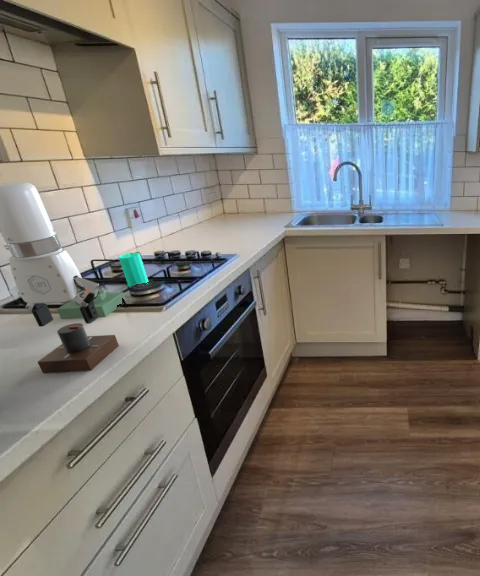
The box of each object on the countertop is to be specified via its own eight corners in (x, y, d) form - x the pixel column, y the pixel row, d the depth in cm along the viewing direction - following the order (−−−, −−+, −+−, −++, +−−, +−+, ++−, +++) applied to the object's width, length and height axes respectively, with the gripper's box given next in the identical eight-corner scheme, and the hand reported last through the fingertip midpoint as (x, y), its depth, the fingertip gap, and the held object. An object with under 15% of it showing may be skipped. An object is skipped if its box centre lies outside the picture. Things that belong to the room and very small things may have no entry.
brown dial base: (42, 373, 78) (36, 361, 76) (76, 347, 87) (71, 336, 85) (91, 370, 78) (85, 358, 77) (119, 345, 87) (114, 334, 86)
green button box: (61, 319, 101) (54, 303, 99) (85, 303, 110) (80, 288, 108) (105, 316, 101) (99, 300, 99) (126, 301, 110) (121, 286, 108)
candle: (152, 282, 124) (141, 249, 119) (133, 289, 119) (121, 254, 114) (143, 279, 127) (133, 246, 122) (125, 285, 122) (113, 251, 117)
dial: (60, 353, 79) (51, 332, 77) (75, 342, 83) (66, 322, 81) (81, 352, 79) (72, 331, 77) (94, 341, 83) (86, 321, 81)
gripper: (-29, 255, 68) (13, 333, 75) (66, 250, 69) (99, 328, 76) (7, 243, 75) (42, 316, 82) (93, 239, 76) (120, 311, 83)
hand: (69, 321), depth 79 cm, fingers open, 9 cm apart
